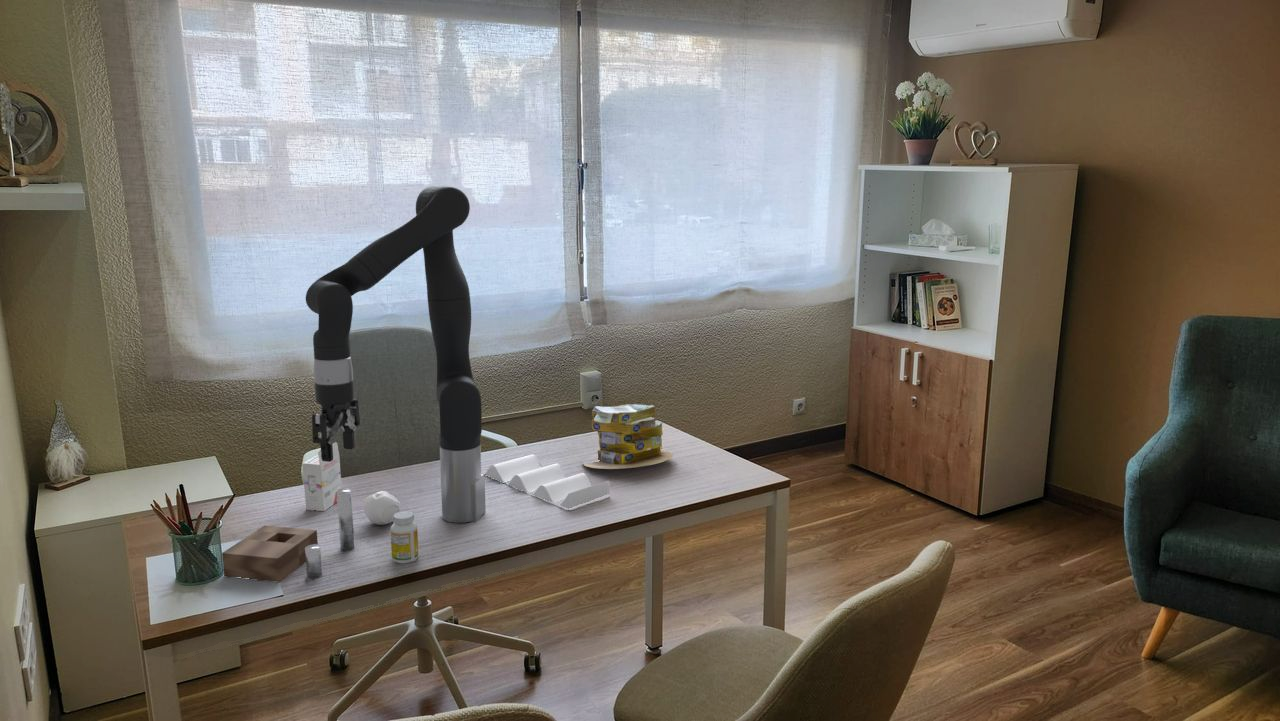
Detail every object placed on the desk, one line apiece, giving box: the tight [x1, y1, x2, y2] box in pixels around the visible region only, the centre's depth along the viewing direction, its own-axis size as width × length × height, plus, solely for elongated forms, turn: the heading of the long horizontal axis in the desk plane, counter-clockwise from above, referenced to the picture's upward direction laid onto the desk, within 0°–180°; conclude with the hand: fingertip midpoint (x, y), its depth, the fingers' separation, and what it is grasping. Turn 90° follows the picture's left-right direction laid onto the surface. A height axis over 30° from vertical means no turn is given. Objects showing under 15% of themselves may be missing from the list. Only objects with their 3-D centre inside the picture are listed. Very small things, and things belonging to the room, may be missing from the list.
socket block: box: [221, 525, 319, 583], centre depth 176 cm, size 12×14×5 cm
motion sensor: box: [363, 490, 401, 526], centre depth 197 cm, size 8×8×8 cm
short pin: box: [305, 544, 323, 580], centre depth 172 cm, size 3×3×6 cm
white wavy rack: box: [484, 453, 611, 509], centre depth 223 cm, size 13×35×5 cm, turn 45°
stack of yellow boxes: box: [583, 402, 674, 470], centre depth 238 cm, size 25×25×17 cm
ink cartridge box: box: [301, 441, 343, 512], centre depth 207 cm, size 9×5×15 cm, turn 168°
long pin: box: [337, 487, 355, 552], centre depth 183 cm, size 3×3×13 cm
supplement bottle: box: [390, 510, 419, 564], centre depth 179 cm, size 5×5×10 cm
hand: (338, 454), depth 182 cm, fingers open, 8 cm apart
